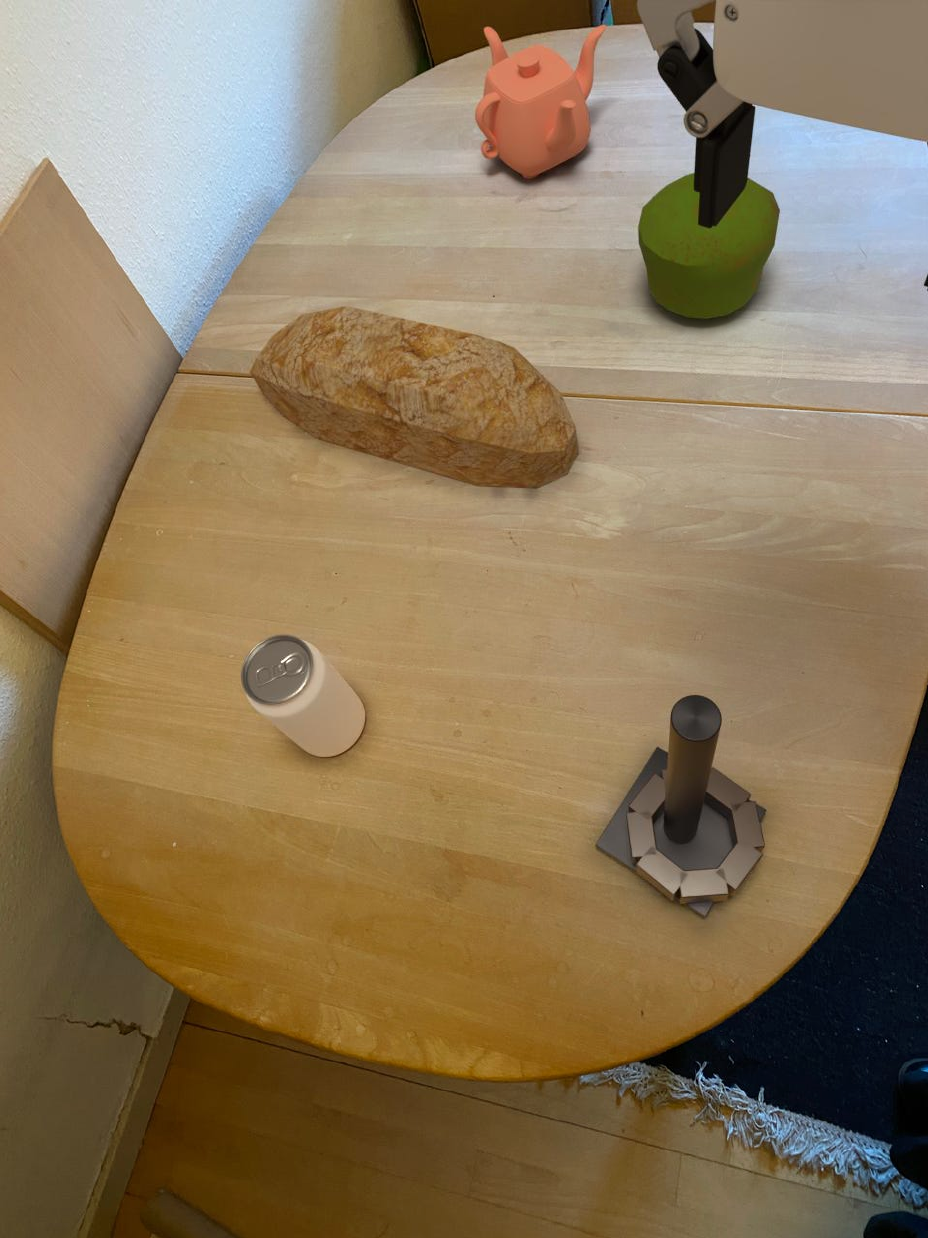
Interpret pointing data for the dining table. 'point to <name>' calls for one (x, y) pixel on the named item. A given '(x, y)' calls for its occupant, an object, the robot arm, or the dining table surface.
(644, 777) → the dark grey peg stand
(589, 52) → the teapot
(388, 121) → the dining table surface
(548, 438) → the bread
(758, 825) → the ring
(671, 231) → the apple
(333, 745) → the can
